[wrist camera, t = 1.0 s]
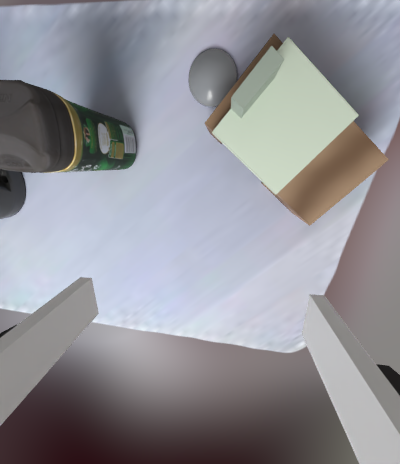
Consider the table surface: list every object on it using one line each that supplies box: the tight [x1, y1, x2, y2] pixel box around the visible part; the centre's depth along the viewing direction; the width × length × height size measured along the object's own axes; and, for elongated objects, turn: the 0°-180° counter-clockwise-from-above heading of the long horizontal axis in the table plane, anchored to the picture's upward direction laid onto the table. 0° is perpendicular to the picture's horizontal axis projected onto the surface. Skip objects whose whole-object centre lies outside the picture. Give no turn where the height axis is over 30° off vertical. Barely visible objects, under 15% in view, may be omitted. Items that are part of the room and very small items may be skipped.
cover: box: [212, 37, 359, 195], centre depth 21 cm, size 11×12×5 cm
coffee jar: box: [0, 80, 136, 173], centre depth 25 cm, size 10×8×19 cm
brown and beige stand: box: [205, 34, 388, 225], centre depth 27 cm, size 19×11×8 cm, turn 49°
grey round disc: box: [189, 49, 237, 107], centre depth 29 cm, size 7×7×1 cm
